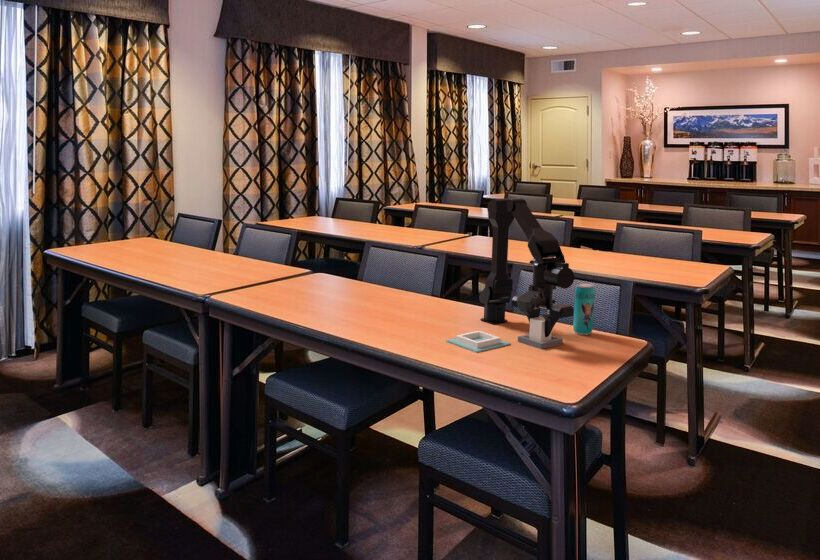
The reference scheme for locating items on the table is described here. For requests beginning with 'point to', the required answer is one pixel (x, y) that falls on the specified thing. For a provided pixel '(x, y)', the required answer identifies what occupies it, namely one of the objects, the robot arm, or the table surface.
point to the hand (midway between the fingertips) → (540, 335)
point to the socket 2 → (540, 345)
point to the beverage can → (584, 308)
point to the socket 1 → (478, 341)
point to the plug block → (538, 330)
